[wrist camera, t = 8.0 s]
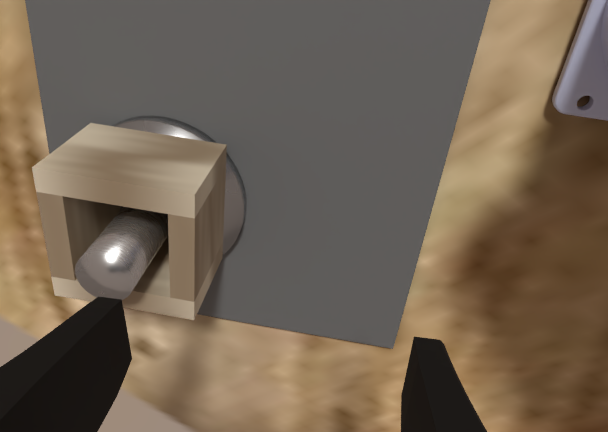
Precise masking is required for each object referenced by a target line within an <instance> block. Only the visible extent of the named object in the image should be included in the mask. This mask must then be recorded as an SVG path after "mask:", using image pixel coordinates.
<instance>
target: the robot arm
mask: <svg viewBox="0 0 608 432" xmlns="http://www.w3.org/2000/svg"><path fill="white" fill-rule="evenodd" d="M583 96H590V100H589V102H588V103H587V104H586V105H584V106H580V107H578V106H577V101H578V100H579V99H580V98H581V97H583ZM552 103H553V106H554V107H555V108H556V109H557V110H558V111H559V112H560V113H563V114H567V115H573V116H580V117H587V118H593V119H600V120H607V121H608V0H588V2H587V5H586V8H585V11H584V13H583V16H582V19H581V21H580V24H579V27H578V29H577V32H576V35H575V37H574V40H573V43H572V45H571V48H570V51H569V53H568V56H567V59H566V62H565V64H564V67H563V70H562V72H561V75H560V78H559V80H558V83H557V86H556V88H555V91H554V94H553V98H552ZM131 360H132V356H131V350H130V344H129V339H128V333H127V327H126V321H125V316H124V310H123V304H122V299H114V298H106V297H97V298H96V299H94V300H93V301H91V302H90V303H89V304H87V305H86V306H85V307H83V308H82V309H81V310H79V311H78V312H77V313H75V314H74V315H73V316H71V317H70V318H69V319H67V320H66V321H65V322H63V323H62V324H61V325H59V326H58V327H57V328H55V329H54V330H53V331H51V332H50V333H48V334H47V335H46V336H44V337H43V338H42V339H40V340H39V341H38V342H36V343H35V344H33V345H32V346H31V347H29V348H28V349H27V350H25V351H24V352H22V353H21V354H19V355H18V356H16V357H15V358H13V359H12V360H10V361H9V362H7V363H6V364H4V365H3V366H1V367H0V432H97V431H98V429H99V428H100V426H101V424H102V422H103V421H104V419H105V417H106V415H107V413H108V411H109V409H110V408H111V406H112V404H113V402H114V400H115V398H116V397H117V394H118V392H119V390H120V387H121V385H122V383H123V380H124V378H125V375H126V372H127V370H128V367H129V365H130V362H131ZM401 432H487V431H486V429H485V427H484V425H483V424H482V422H481V420H480V418H479V416H478V415H477V413H476V411H475V409H474V407H473V405H472V404H471V402H470V400H469V398H468V396H467V394H466V392H465V390H464V388H463V386H462V384H461V382H460V380H459V378H458V376H457V374H456V371H455V369H454V367H453V365H452V363H451V360H450V358H449V356H448V353H447V351H446V348H445V346H444V344H443V343H442V341H441V340H436V339H428V338H420V337H414V340H413V344H412V349H411V354H410V358H409V363H408V368H407V373H406V377H405V382H404V387H403V391H402V402H401Z"/></svg>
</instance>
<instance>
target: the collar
mask: <svg viewBox="0 0 608 432" xmlns="http://www.w3.org/2000/svg"><path fill="white" fill-rule="evenodd" d="M226 153H227V145H225V144H219V143H213V142H207V141H201V140H194V139H188V138H182V137H176V136H170V135H163V134H157V133H151V132H145V131H139V130H132V129H126V128H120V127H114V126H108V125H101V124H95V123H90V124H88V125H87V126H86V127H85V128H83V129H82V130H81V131H79V132H78V133H77V134H75V135H74V136H73V137H71V138H70V139H69V140H68V141H66V142H65V143H64V144H62V145H61V146H60V147H58V148H57V149H56V150H54V151H53V152H52V153H50V154H49V155H48V156H47V157H45V158H44V159H43V160H41V161H40V162H39V163H37V164H36V165H35V166H33V167H32V170H33V176H34V182H35V187H36V193H37V198H38V204H39V210H40V215H41V221H42V226H43V232H44V238H45V243H46V249H47V255H48V260H49V266H50V271H51V277H52V283H53V288H54V294H55V295H56V296H62V297H68V298H73V299H79V300H84V301H90V302H91V301H93V300H94V299H96V297H94V296H93V295H91V294H90V293H88V292H87V291H86V290H85V289H84V288H83V287H82V286H81V285H80V283H79V282H78V280H77V278H76V274H75V266H76V263H77V261H78V260H79V259H80V258H81V256H82V255H83V254H84V253H85V252H86V250H87V249H88V248H89V247H90V246H91V245H92V243H93V242H94V241H95V240H96V239H97V237H98V236H99V235H100V234H101V233H102V232H103V230H104V229H105V228H106V227H107V226H108V224H109V223H110V222H111V221H112V220H113V219H114V217H115V216H116V215H117V214H118V213H119V212H120V206H124V207H129V208H135V209H141V210H147V211H153V212H159V213H165V214H168V236H167V238H166V239H165V241H164V242H163V244H162V246H161V247H160V249H159V250H158V252H157V253H156V255H155V256H154V258H153V260H152V261H151V263H150V264H149V266H148V267H147V269H146V270H145V272H144V274H143V275H142V277H141V278H140V280H139V281H138V283H137V284H136V286H135V288H134V289H133V291H132V292H131V294H130V295H129V296H128V297H127V298H125V299H123V300H122V304H123V308H129V309H134V310H140V311H145V312H151V313H157V314H162V315H168V316H173V317H179V318H184V319H190V320H195V317H196V315H197V313H198V311H199V309H200V306H201V304H202V302H203V300H204V297H205V295H206V293H207V291H208V289H209V286H210V284H211V282H212V280H213V278H214V275H215V273H216V271H217V269H218V267H219V264H220V262H221V260H222V256H223V230H224V205H225V179H226Z"/></svg>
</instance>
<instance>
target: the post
mask: <svg viewBox="0 0 608 432" xmlns="http://www.w3.org/2000/svg"><path fill="white" fill-rule="evenodd" d="M113 126H114V127H120V128H126V129H132V130H139V131H145V132H151V133H157V134H163V135H170V136H176V137H182V138H188V139H194V140H201V141H207V142H213V143H217V142H215V141H214V140H213V139H212V138H210V137H209V136H208V135H207V134H205V133H203V132H202V131H200V130H199V129H197V128H195V127H193V126H191V125H189V124H187V123H184V122H181V121H178V120H176V119H171V118H167V117H161V116H139V117H133V118H129V119H126V120H123V121H120V122H118V123H117V124H115V125H113ZM246 209H247V198H246V192H245V187H244V184H243V180H242V178H241V175H240V173H239V171H238V169H237V167H236V166H235V164H234V162H233V161H232V159H231V158H230V157H229V155H228V154H227V153H226V179H225V205H224V230H223V255H224V254H225V253H226V252H227V251H228V250H229V249H230V248H231V246H232V245H233V244H234V242H235V241H236V239H237V237H238V235H239V233H240V230H241V228H242V226H243V223H244V220H245V216H246ZM167 236H168V214H165V213H159V212H153V211H147V210H141V209H135V208H129V207H124V206H120V212H119V213H118V214H117V215H116V216H115V217H114V219H113V220H112V221H111V222H110V223H109V224H108V226H107V227H106V228H105V229H104V230H103V232H102V233H101V234H100V235H99V236H98V237H97V239H96V240H95V241H94V242H93V243H92V245H91V246H90V247H89V248H88V249H87V250H86V252H85V253H84V254H83V255H82V256H81V258H80V259H79V260H78V261H77V263H76V266H75V274H76V278H77V280H78V282H79V283H80V285H81V286H82V287H83V288H84V289H85V290H86V291H87V292H88V293H90V294H91V295H93V296H94V297H96V298H97V297H106V298H114V299H122V300H123V299H125V298H127V297H128V296H129V295H130V294H131V292H132V291H133V289H134V288H135V286H136V284H137V283H138V281H139V280H140V278H141V277H142V275H143V274H144V272H145V270H146V269H147V267H148V266H149V264H150V263H151V261H152V260H153V258H154V256H155V255H156V253H157V252H158V250H159V249H160V247H161V246H162V244H163V242H164V241H165V239H166V238H167Z"/></svg>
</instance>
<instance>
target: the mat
mask: <svg viewBox="0 0 608 432" xmlns="http://www.w3.org/2000/svg"><path fill="white" fill-rule="evenodd" d="M25 2H26V8H27V14H28V21H29V27H30V33H31V40H32V46H33V52H34V59H35V65H36V71H37V78H38V84H39V90H40V97H41V103H42V109H43V116H44V122H45V128H46V134H47V141H48V147H49V153H52V152H53V151H54V150H56V149H57V148H58V147H60V146H61V145H62V144H64V143H65V142H66V141H68V140H69V139H70V138H71V137H73V136H74V135H75V134H77V133H78V132H79V131H81V130H82V129H83V128H85V127H86V126H87V125H88V124H90V123H95V124H101V125H108V126H113V125H115V124H117V123H118V122H120V121H123V120H126V119H129V118H133V117H139V116H161V117H167V118H171V119H176V120H178V121H181V122H184V123H187V124H189V125H191V126H193V127H195V128H197V129H199V130H200V131H202V132H203V133H205V134H207V135H208V136H209V137H210V138H212V139H213V140H214V141H215V142H217V143H219V144H225V145H227V154H228V155H229V157H230V158H231V159H232V161H233V162H234V164H235V166H236V167H237V169H238V171H239V173H240V175H241V178H242V180H243V184H244V187H245V192H246V198H247V209H246V216H245V220H244V223H243V226H242V228H241V230H240V233H239V235H238V237H237V239H236V241H235V242H234V244H233V245H232V246H231V248H230V249H229V250H228V251H227V252H226V253H225V254H224V255H223V256H222V260H221V262H220V264H219V267H218V269H217V271H216V273H215V275H214V278H213V280H212V282H211V284H210V286H209V289H208V291H207V293H206V295H205V297H204V300H203V302H202V304H201V306H200V309H199V311H198V313H197V314H200V315H205V316H211V317H217V318H222V319H228V320H234V321H239V322H245V323H251V324H256V325H262V326H267V327H273V328H279V329H284V330H290V331H296V332H301V333H307V334H313V335H318V336H324V337H330V338H335V339H341V340H346V341H352V342H358V343H363V344H369V345H375V346H380V347H386V348H392V349H393V346H394V343H395V339H396V336H397V332H398V329H399V325H400V321H401V318H402V314H403V311H404V307H405V304H406V300H407V296H408V293H409V289H410V286H411V282H412V279H413V275H414V272H415V268H416V264H417V261H418V257H419V254H420V250H421V247H422V243H423V239H424V236H425V232H426V229H427V225H428V222H429V218H430V214H431V211H432V207H433V204H434V200H435V197H436V193H437V189H438V186H439V182H440V179H441V175H442V172H443V168H444V165H445V161H446V157H447V154H448V150H449V147H450V143H451V140H452V136H453V132H454V129H455V125H456V122H457V118H458V115H459V111H460V107H461V104H462V100H463V97H464V93H465V90H466V86H467V83H468V79H469V75H470V72H471V68H472V65H473V61H474V58H475V54H476V50H477V47H478V43H479V40H480V36H481V33H482V29H483V25H484V22H485V18H486V15H487V11H488V8H489V4H490V0H25Z"/></svg>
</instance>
